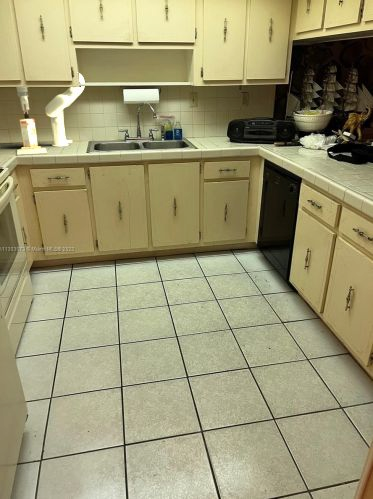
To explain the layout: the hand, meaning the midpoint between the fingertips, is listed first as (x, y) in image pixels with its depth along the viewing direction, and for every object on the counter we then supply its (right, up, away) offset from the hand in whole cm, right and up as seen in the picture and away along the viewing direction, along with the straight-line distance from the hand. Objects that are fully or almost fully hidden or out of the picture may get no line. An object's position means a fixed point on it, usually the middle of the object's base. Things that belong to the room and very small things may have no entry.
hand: (27, 119), depth 290 cm
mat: (+12, -31, -20) cm, 39 cm away
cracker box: (+5, -23, -3) cm, 24 cm away
